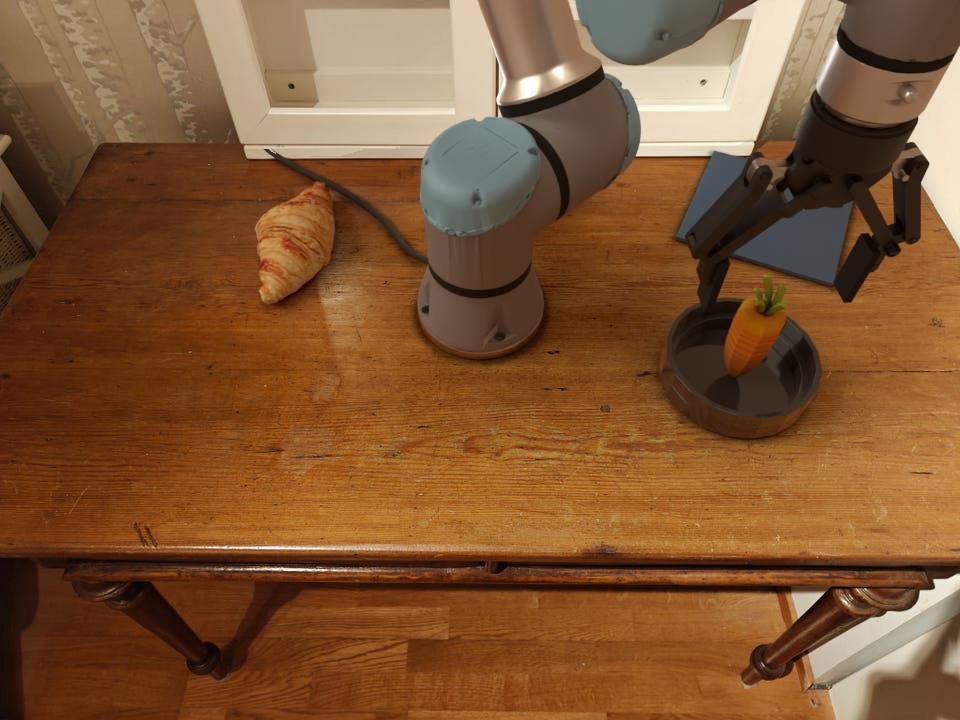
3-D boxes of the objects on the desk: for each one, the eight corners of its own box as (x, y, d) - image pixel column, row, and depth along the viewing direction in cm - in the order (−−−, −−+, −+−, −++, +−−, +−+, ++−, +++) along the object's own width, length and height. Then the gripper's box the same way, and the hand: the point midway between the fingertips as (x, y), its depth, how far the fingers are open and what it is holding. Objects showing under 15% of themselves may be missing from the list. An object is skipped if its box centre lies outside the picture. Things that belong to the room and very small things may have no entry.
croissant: (299, 331, 88) (316, 298, 82) (220, 298, 85) (232, 262, 79) (346, 215, 100) (364, 179, 94) (278, 183, 97) (292, 143, 91)
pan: (640, 406, 77) (647, 383, 73) (681, 305, 85) (689, 280, 82) (790, 462, 72) (806, 440, 69) (817, 350, 81) (832, 325, 78)
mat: (675, 239, 92) (676, 236, 92) (713, 153, 103) (714, 150, 102) (831, 287, 87) (833, 283, 87) (854, 191, 98) (856, 187, 97)
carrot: (755, 397, 77) (805, 307, 65) (709, 390, 77) (750, 300, 65) (754, 361, 80) (802, 269, 68) (710, 354, 80) (749, 262, 68)
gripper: (712, 142, 48) (655, 336, 65) (1062, 121, 49) (916, 317, 66) (684, 82, 53) (637, 277, 70) (1005, 63, 54) (882, 261, 70)
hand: (773, 297), depth 68 cm, fingers open, 13 cm apart
